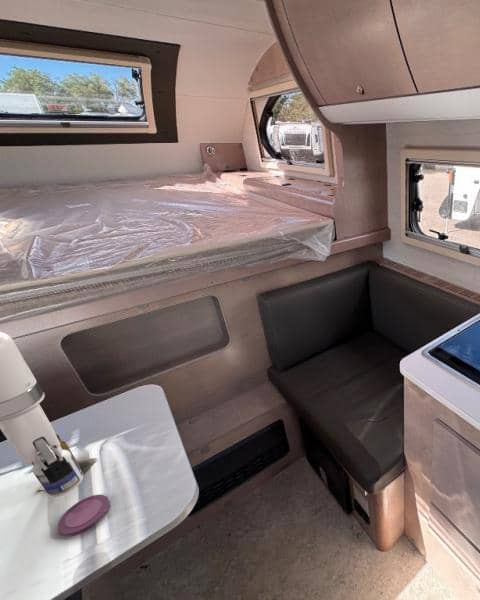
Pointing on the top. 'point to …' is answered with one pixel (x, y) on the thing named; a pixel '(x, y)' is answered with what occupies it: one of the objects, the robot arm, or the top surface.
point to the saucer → (83, 515)
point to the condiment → (81, 463)
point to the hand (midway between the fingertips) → (55, 469)
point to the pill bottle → (63, 484)
